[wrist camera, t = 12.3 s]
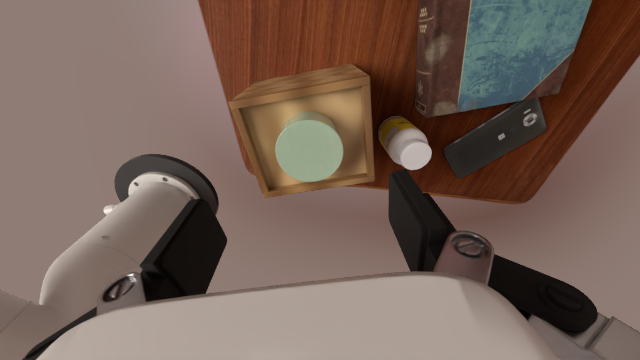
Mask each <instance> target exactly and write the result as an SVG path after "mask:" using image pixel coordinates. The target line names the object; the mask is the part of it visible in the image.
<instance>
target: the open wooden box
mask: <svg viewBox="0 0 640 360" xmlns="http://www.w3.org/2000/svg"><path fill="white" fill-rule="evenodd" d="M229 105H230V108H231V111H232V113H233V116H234V119H235V121H236V124H237V127H238V129H239V132H240V135H241V137H242V140H243V143H244V145H245V148H246V151H247V153H248V156H249V159H250V161H251V164H252V167H253V169H254V172H255V175H256V177H257V180H258V183H259V185H260V188H261V191H262V193H263V196H264V198H268V197H274V196H281V195H287V194H293V193H300V192H306V191H314V190H320V189H327V188H332V187H340V186H346V185H353V184H359V183H366V182H372V181H375V176H374V153H373V132H372V110H371V88H370V76H369V75H368V74H366V73H365V72H363V71H361V70H360V69H358V68H357V67H355V66H354V65H352V64H346V65H341V66H336V67H331V68H325V69H320V70H315V71H310V72H304V73H299V74H294V75H289V76H283V77H278V78H273V79H267V80H262V81H257V82H255V83H254V84H252V85H251V86H250V87H248V88H247V89H245V90H244V91H243V92H241V93H240V94H239V95H237V96H236V97H235V98H233V99H232V100H231V101H229ZM302 112H317V113H321V114H323V115H325V116H327V117H328V118H330V119H331V120H332V121H333V122H334V123H335V125H336V126H337V128H338V130H339V133H340V137H341V140H342V144H343V158H342V161H341V164H340V166H339V167H338V169H337V170H336V171H335V172H334V173H333V174H332V175H331V176H329V177H327V178H325V179H323V180H320V181H316V182H304V181H300V180H297V179H294V178H292V177H291V176H289V175H288V174H286V173H285V172H284V171H283V170H282V168H281V167H280V165H279V163H278V161H277V158H276V153H275V148H276V142H277V140H278V137H279V134H280V131H281V129H282V127H283V125H284V124H285V122H286V121H287V120H288V119H289V118H291V117H292V116H294V115H296V114H298V113H302Z"/></svg>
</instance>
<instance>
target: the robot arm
mask: <svg viewBox="0 0 640 360" xmlns="http://www.w3.org/2000/svg"><path fill="white" fill-rule="evenodd" d="M128 194H129V197H128V198H127V199H126V200H124V201H123V202H121V203H120V204H113V205H107V206H105V208H104V213H105V214H106V215H107V216H106V217H104V219H102V220H101V221H100V222H99V223H97V224H96V225H95V226H94V227H93V228H92V229H91V230H89V231H88V232H87V233H86V234H85V235H83V236H82V237H81V238H80V239H79V240H78V241H76V242H75V243H74V244H73V245H72V246H71V247H69V248H68V249H67V250H66V251H65V252H64V253H63V254H61V255H60V256H59V257H58V258H57V259H56V260H55V261H54V262H53V264H52V265H51V266H50V268H49V270H48V271H47V273H46V275H45V278H44V281H43V284H42V289H41V296H40V302H39V304H36V303H34V302H31V301H30V302H28V301H26V300H23V299H21V298H18V297H16V296H13V295H10V294H8V293H5V292H3V291H1V290H0V360H559V359H560V360H640V332H638V331H637V330H635V329H633V328H632V327H630V326H628V325H627V324H625V323H623V322H621V321H620V320H618V319H616V318H615V317H613V316H612V317H611V318H610V319H608V318H607V317H605V316H603V315H602V314H600V313H598V312H597V309H596V307H595V305H594V304H593V303H592V301H591V300H590V299H589V298H588V297H587V296H586V295H585V294H584V293H582V292H581V291H579V290H578V289H576V288H575V287H573V286H571V285H569V284H567V283H565V282H563V281H560V280H558V279H555V278H553V277H550V276H548V275H545V274H543V273H540V272H538V271H535V270H533V269H530V268H528V267H525V266H523V265H520V264H518V263H515V262H513V261H510V260H508V259H505V258H503V257H500V256H498V255H495V254H494V248H493V246H492V245H491V243H490V242H489V241H488V240H487V239H485V238H484V237H482V236H481V235H479V234H476V233H474V232H469V231H457V230H456V229H455V228H454V226H453V225H452V224H451V223H450V221H449V220H448V219H447V217H446V216H445V215H444V213H443V212H442V210H441V209H440V208H439V207H438V205H437V204H436V203H435V201H434V200H433V199H432V197H431V196H430V195H429V194H428V193H422V191H421V190H420V188H419V187H418V186H417V184H416V183H415V182H414V180H413V179H412V177H411V176H410V175H409V173H408V172H407V170H406V169H403V170H396V171H393V174H390V175H389V221H390V224H391V226H392V228H393V231H394V233H395V236H396V238H397V240H398V243H399V245H400V247H401V250H402V252H403V255H404V257H405V259H406V262H407V264H408V267H409V269H410V271H411V272H396V273H386V274H375V275H364V276H355V277H346V278H338V279H328V280H319V281H310V282H301V283H292V284H284V285H276V286H267V287H258V288H251V289H242V290H233V291H225V292H217V293H209V294H205V293H206V291H207V289H208V286H209V283H210V282H211V279H212V277H213V275H214V272H215V269H216V267H217V265H218V263H219V260H220V258H221V256H222V253H223V251H224V249H225V246H226V244H227V237H226V236H225V233H224V232H223V230H222V228H221V226H220V224H219V222H218V220H217V218H216V216H215V214H214V212H213V210H212V209H211V207H210V205H209V203H208V201H205V200H204V199H202V198H199V196H198V194H197V192H196V191H195V190H194V189H193V188H192V187H191V186H190V185H189V184H188V183H187V182H185V181H184V180H182V179H180V178H179V177H177V176H174V175H171V174H168V173H164V172H147V173H144V174H142V175H140V176H138V177H137V178H136V179H134V180H133V181H132V183H131V184H130V186H129V192H128ZM558 358H559V359H558Z"/></svg>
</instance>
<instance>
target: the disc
mask: <svg viewBox="0 0 640 360" xmlns="http://www.w3.org/2000/svg"><path fill="white" fill-rule="evenodd" d="M275 153H276V158H277V161H278V163H279V165H280V167H281V168H282V170H283V171H284V172H285V173H286V174H288V175H289V176H291V177H292V178H294V179H297V180H300V181H304V182H316V181H320V180H323V179H325V178H327V177H329V176H331V175H332V174H333V173H334V172H335V171H336V170H337V169H338V167H339V166H340V164H341V161H342V158H343V144H342V140H341V137H340V133H339V130H338V128H337V126H336V125H335V123H334V122H333V121H332V120H331V119H330V118H328V117H327V116H325V115H323V114H321V113H317V112H302V113H298V114H296V115H294V116H292V117H291V118H289V119H288V120H287V121H286V122H285V124H284V125H283V127H282V129H281V131H280V134H279V137H278V140H277V142H276V148H275Z"/></svg>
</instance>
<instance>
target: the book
mask: <svg viewBox="0 0 640 360" xmlns="http://www.w3.org/2000/svg"><path fill="white" fill-rule="evenodd" d="M591 2H592V0H419V8H418V38H417V68H416V98H415V110H416V111H417V112H418V113H419V114H420V115H422V116H423V117H425V118H431V117H434V116H439V115H446V114H452V113H458V112H463V111H469V110H474V109H479V108H485V107H490V106H495V105H501V104H506V103H511V102H517V101H522V100H527V99H532V98H538V97H543V96H548V95H553V94H558V93H559V91H560V89H561V86H562V83H563V80H564V78H565V75H566V72H567V69H568V66H569V64H570V61H571V58H572V55H573V52H574V50H575V47H576V44H577V41H578V38H579V36H580V33H581V30H582V27H583V24H584V22H585V19H586V16H587V13H588V10H589V8H590V5H591Z"/></svg>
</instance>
